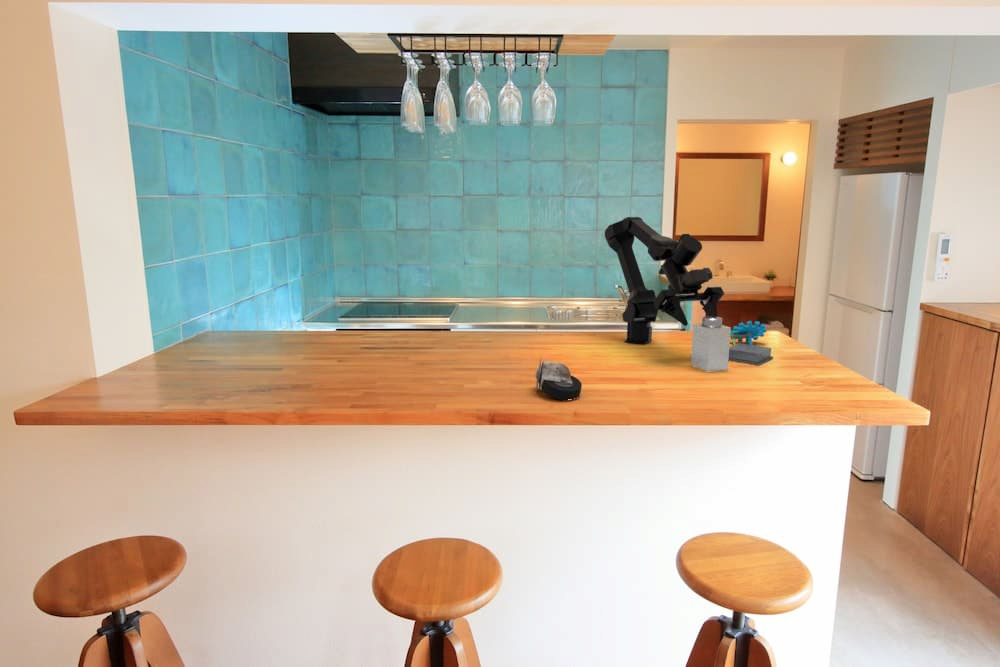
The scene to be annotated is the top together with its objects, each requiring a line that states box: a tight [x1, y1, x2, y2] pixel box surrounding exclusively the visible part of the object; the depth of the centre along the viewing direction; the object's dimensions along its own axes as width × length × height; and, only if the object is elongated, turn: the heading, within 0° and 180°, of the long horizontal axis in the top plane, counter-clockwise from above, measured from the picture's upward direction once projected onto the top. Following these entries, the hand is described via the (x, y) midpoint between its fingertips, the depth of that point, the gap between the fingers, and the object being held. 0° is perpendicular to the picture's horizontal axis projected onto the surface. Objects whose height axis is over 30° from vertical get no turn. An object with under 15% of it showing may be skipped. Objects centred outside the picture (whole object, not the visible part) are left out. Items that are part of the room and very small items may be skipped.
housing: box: [690, 315, 732, 372], centre depth 163 cm, size 7×6×13 cm
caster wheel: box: [535, 357, 583, 401], centre depth 142 cm, size 7×11×10 cm
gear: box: [730, 320, 767, 345], centre depth 190 cm, size 11×6×10 cm
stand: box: [728, 342, 774, 366], centre depth 173 cm, size 10×10×3 cm
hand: (701, 323), depth 166 cm, fingers open, 9 cm apart
